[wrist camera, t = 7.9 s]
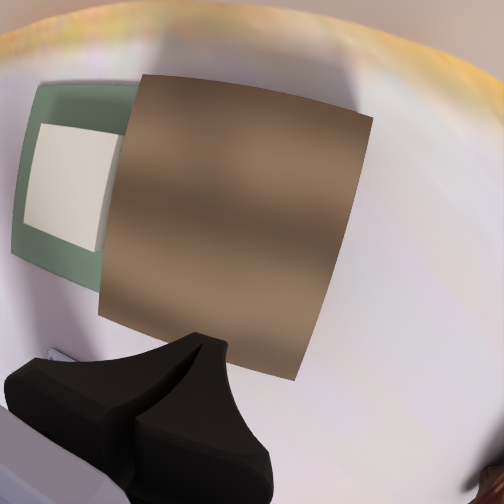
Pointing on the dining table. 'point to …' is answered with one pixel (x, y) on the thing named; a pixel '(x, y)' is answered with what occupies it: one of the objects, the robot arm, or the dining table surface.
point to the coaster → (73, 184)
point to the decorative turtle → (491, 486)
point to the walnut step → (229, 216)
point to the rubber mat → (46, 112)
